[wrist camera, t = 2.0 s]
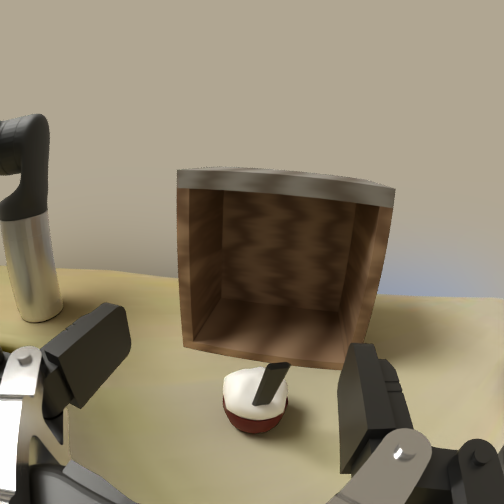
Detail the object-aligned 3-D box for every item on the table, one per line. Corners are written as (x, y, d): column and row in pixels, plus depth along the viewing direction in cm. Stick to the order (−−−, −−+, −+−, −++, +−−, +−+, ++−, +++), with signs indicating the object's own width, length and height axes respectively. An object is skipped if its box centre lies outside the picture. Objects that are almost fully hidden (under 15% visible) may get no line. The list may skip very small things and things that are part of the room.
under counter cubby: (183, 346, 36) (177, 170, 29) (215, 298, 50) (218, 166, 43) (353, 370, 33) (395, 188, 25) (344, 314, 47) (366, 179, 39)
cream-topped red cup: (233, 390, 30) (232, 298, 27) (287, 396, 29) (299, 304, 26) (211, 452, 21) (199, 356, 18) (279, 462, 20) (295, 368, 17)
